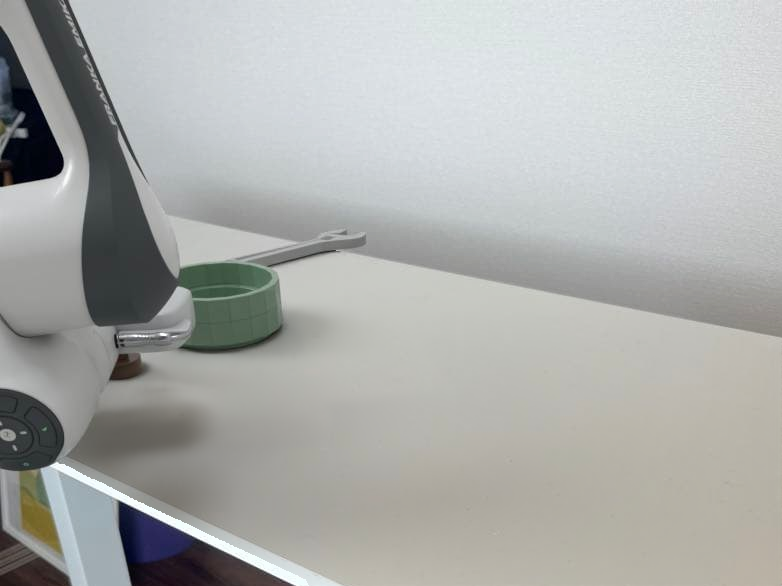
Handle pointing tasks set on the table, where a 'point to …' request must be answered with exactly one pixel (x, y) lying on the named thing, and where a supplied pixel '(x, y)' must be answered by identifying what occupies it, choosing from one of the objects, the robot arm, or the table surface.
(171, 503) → the table surface
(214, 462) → the table surface
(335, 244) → the adjustable wrench
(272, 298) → the bowl
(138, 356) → the muddler
